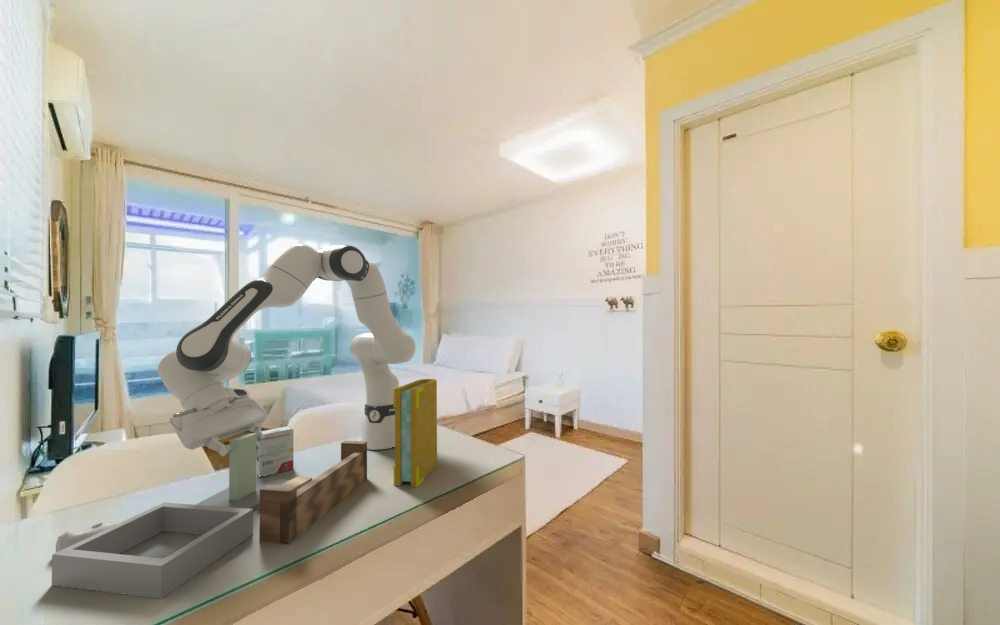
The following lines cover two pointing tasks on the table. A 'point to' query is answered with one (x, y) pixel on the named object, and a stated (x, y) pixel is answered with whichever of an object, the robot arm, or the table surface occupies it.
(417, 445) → the book
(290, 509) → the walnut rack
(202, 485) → the table surface
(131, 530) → the grey tray frame
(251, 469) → the pale green block
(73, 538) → the pale two-lobed sculpture
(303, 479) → the wooden block
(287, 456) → the ink box
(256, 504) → the slate mat
